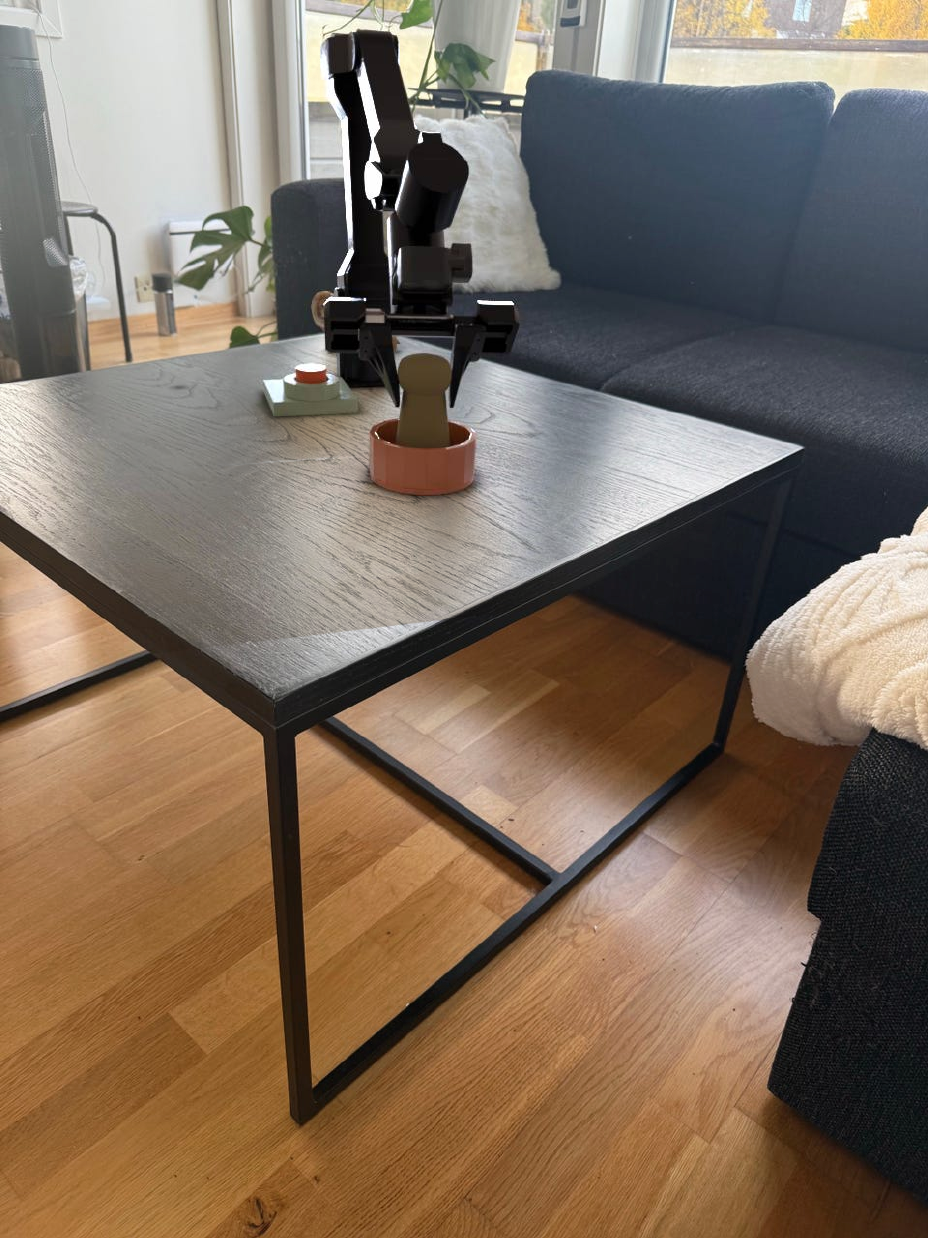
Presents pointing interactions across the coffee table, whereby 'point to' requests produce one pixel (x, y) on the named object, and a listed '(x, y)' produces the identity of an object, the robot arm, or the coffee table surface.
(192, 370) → the coffee table surface
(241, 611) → the coffee table surface
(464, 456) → the bowl
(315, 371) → the button
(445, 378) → the cork
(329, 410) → the button box
